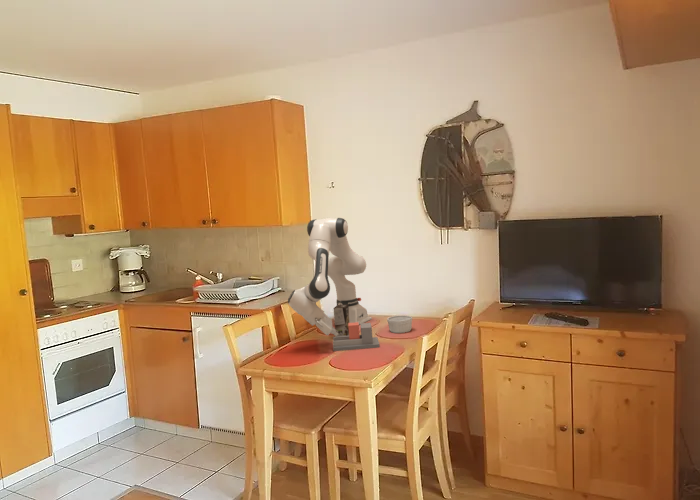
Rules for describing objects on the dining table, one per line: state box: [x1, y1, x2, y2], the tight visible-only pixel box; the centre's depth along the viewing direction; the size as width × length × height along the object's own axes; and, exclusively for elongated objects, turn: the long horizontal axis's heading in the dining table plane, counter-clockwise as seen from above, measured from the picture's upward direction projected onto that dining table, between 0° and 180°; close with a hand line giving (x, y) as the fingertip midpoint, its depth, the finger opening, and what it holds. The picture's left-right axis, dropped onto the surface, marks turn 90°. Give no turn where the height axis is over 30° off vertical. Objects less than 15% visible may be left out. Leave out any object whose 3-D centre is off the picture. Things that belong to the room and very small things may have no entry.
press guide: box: [332, 322, 381, 352], centre depth 269 cm, size 22×14×10 cm, turn 91°
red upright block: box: [348, 322, 361, 340], centre depth 269 cm, size 5×6×9 cm
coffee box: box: [333, 304, 350, 337], centre depth 289 cm, size 9×6×16 cm
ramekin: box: [387, 314, 413, 334], centre depth 292 cm, size 13×13×7 cm
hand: (337, 334), depth 268 cm, fingers closed
